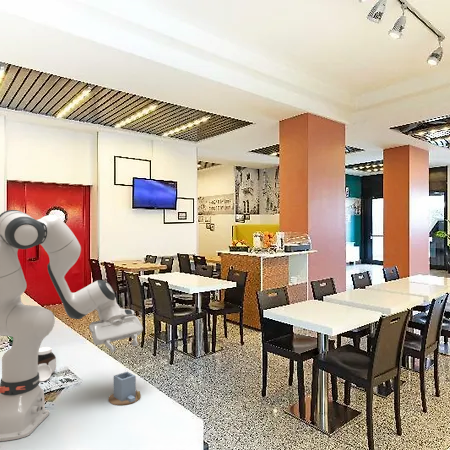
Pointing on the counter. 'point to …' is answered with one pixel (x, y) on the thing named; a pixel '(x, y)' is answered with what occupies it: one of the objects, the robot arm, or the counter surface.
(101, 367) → the counter surface
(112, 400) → the post plate
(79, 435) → the counter surface
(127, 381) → the open square bin
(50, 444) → the counter surface
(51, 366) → the spread jar
